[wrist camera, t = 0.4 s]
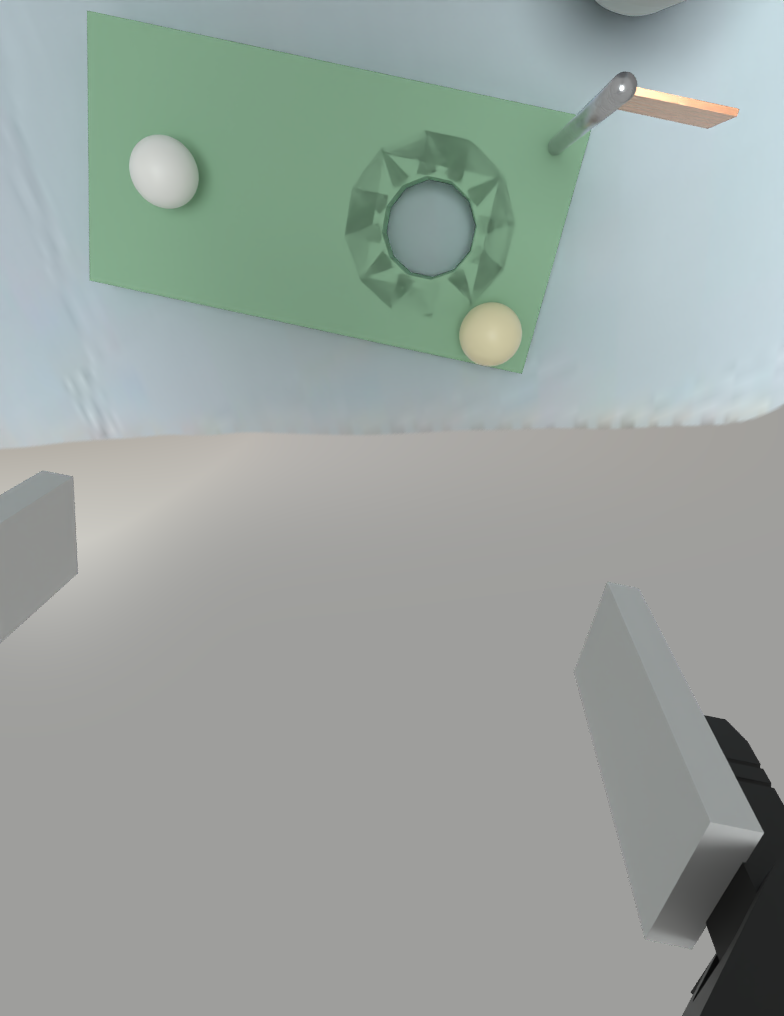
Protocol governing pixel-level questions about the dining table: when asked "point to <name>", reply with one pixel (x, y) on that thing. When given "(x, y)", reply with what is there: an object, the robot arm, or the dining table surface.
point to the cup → (637, 6)
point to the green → (316, 187)
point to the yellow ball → (490, 334)
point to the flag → (638, 110)
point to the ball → (163, 171)
